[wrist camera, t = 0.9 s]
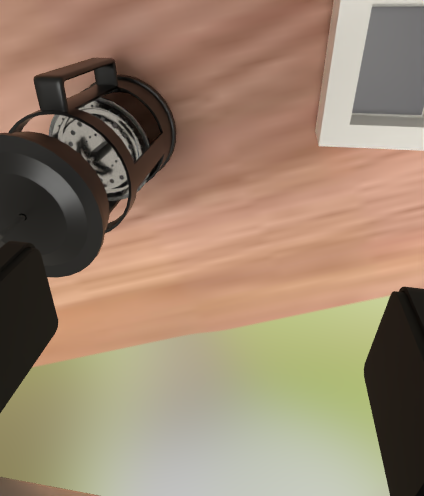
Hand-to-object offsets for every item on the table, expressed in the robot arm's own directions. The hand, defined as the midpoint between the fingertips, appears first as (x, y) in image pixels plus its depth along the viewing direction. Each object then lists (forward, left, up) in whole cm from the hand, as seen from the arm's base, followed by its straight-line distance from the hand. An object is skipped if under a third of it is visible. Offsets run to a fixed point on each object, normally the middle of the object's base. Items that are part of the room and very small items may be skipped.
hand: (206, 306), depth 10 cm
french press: (+3, -12, -27) cm, 29 cm away
